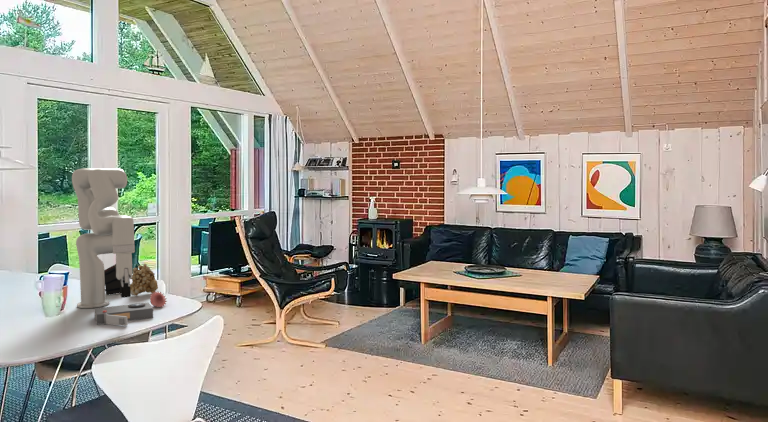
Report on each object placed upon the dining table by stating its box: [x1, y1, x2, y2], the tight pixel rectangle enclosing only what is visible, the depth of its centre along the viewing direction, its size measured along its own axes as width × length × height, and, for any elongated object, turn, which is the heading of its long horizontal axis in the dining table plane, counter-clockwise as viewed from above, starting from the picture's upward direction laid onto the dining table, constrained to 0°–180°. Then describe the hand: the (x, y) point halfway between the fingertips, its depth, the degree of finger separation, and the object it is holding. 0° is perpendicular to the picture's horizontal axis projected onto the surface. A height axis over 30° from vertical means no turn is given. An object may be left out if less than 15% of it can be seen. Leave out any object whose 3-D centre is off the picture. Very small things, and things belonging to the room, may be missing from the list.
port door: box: [104, 314, 129, 327], centre depth 214 cm, size 2×11×4 cm, turn 71°
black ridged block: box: [104, 263, 121, 296], centre depth 273 cm, size 4×13×15 cm, turn 124°
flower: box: [149, 290, 168, 308], centre depth 245 cm, size 8×8×6 cm
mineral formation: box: [130, 263, 159, 297], centre depth 269 cm, size 8×13×15 cm, turn 137°
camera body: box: [93, 301, 154, 325], centre depth 225 cm, size 12×20×4 cm, turn 121°
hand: (125, 296), depth 216 cm, fingers closed
